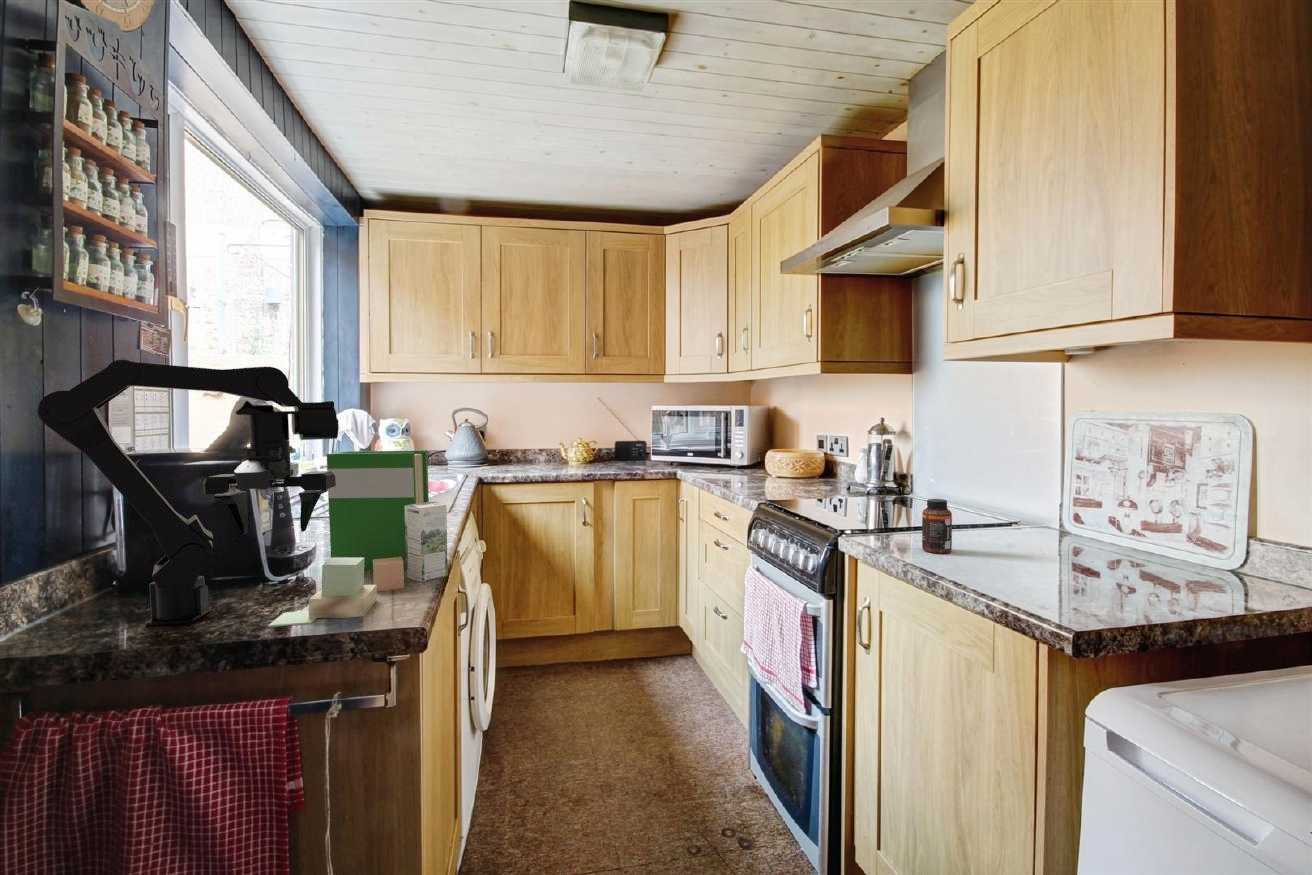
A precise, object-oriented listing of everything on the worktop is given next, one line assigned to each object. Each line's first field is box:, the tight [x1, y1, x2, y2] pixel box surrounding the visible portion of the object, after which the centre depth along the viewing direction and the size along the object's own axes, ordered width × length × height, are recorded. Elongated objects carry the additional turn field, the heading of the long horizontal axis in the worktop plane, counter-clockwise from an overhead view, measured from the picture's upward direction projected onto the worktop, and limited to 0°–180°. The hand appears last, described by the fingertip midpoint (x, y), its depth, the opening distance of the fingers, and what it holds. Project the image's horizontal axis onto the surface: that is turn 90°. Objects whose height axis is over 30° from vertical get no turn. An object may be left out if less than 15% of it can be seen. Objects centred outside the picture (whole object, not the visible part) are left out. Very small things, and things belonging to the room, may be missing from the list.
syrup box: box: [405, 501, 449, 583], centre depth 122 cm, size 6×6×14 cm
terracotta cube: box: [372, 557, 405, 592], centre depth 116 cm, size 5×5×5 cm
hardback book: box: [326, 450, 430, 570], centre depth 131 cm, size 18×7×24 cm, turn 88°
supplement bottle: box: [921, 498, 953, 554], centre depth 138 cm, size 6×6×11 cm
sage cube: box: [321, 557, 365, 596], centre depth 103 cm, size 5×5×5 cm
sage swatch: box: [268, 610, 318, 628], centre depth 99 cm, size 6×6×1 cm
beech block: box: [308, 584, 378, 619], centre depth 103 cm, size 8×8×3 cm
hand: (274, 532), depth 108 cm, fingers open, 9 cm apart
